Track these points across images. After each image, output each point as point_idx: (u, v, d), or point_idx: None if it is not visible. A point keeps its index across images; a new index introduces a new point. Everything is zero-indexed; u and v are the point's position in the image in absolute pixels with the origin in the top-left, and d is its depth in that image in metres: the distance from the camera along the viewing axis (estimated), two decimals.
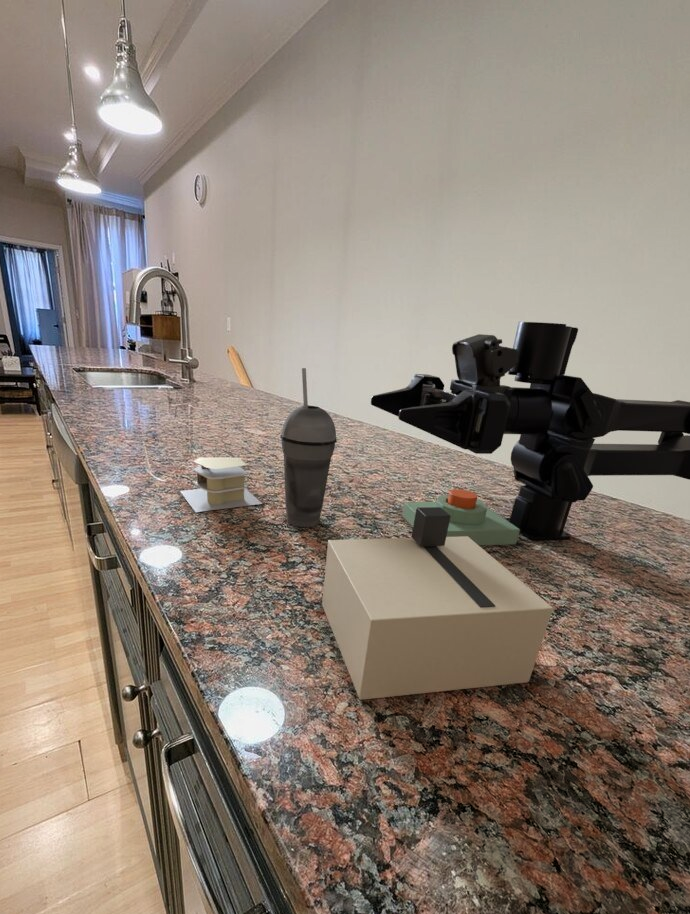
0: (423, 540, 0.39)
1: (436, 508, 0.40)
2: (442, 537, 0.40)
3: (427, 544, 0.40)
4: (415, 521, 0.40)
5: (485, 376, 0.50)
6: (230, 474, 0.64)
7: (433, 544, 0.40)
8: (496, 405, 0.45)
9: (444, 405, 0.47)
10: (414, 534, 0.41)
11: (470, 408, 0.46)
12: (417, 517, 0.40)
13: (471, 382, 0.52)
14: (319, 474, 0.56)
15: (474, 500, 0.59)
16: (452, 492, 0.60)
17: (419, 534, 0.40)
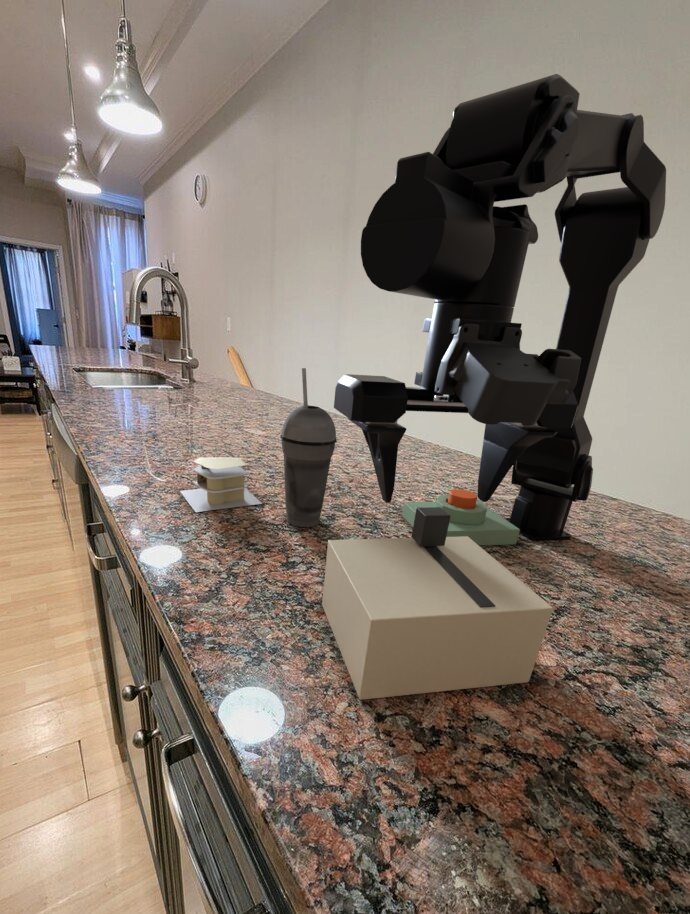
0: (423, 540, 0.39)
1: (436, 508, 0.40)
2: (442, 537, 0.40)
3: (427, 544, 0.40)
4: (415, 521, 0.40)
5: None
6: (230, 474, 0.64)
7: (433, 544, 0.40)
8: None
9: (515, 457, 0.38)
10: (414, 534, 0.41)
11: None
12: (417, 517, 0.40)
13: None
14: (319, 474, 0.56)
15: (474, 500, 0.59)
16: (452, 492, 0.60)
17: (419, 534, 0.40)
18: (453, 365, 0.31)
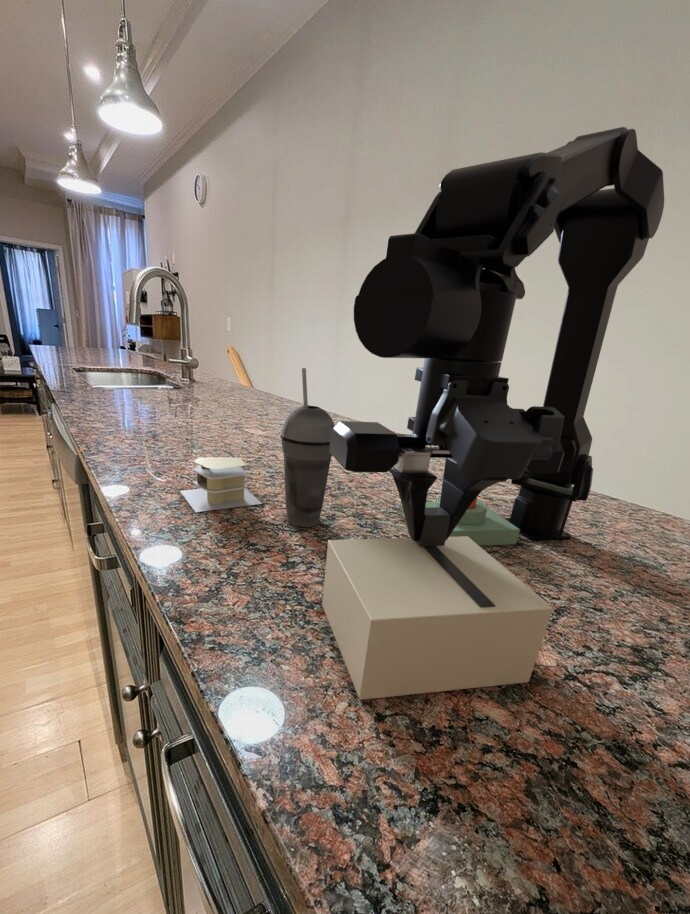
0: (423, 540, 0.39)
1: (436, 508, 0.40)
2: (442, 537, 0.40)
3: (427, 544, 0.40)
4: None
5: None
6: (230, 474, 0.64)
7: (433, 544, 0.40)
8: None
9: (471, 499, 0.38)
10: None
11: None
12: None
13: None
14: (319, 474, 0.56)
15: (474, 500, 0.59)
16: None
17: None
18: (443, 419, 0.33)
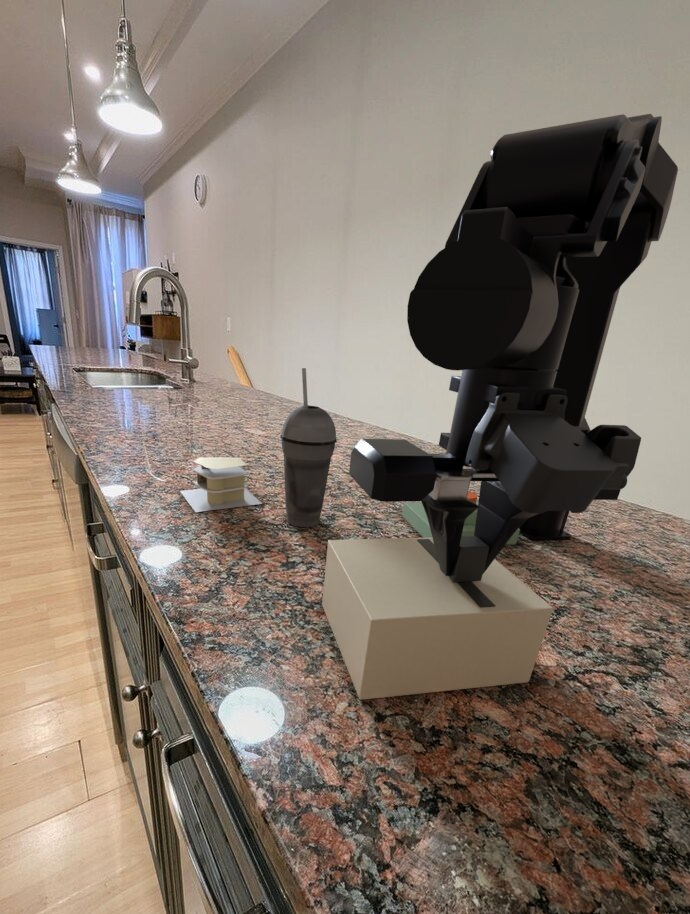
0: (457, 575, 0.34)
1: (471, 537, 0.35)
2: (479, 571, 0.34)
3: (461, 579, 0.34)
4: None
5: None
6: (230, 474, 0.64)
7: (468, 579, 0.34)
8: None
9: (514, 528, 0.33)
10: None
11: None
12: None
13: None
14: (319, 474, 0.56)
15: (474, 500, 0.59)
16: None
17: None
18: (489, 439, 0.27)
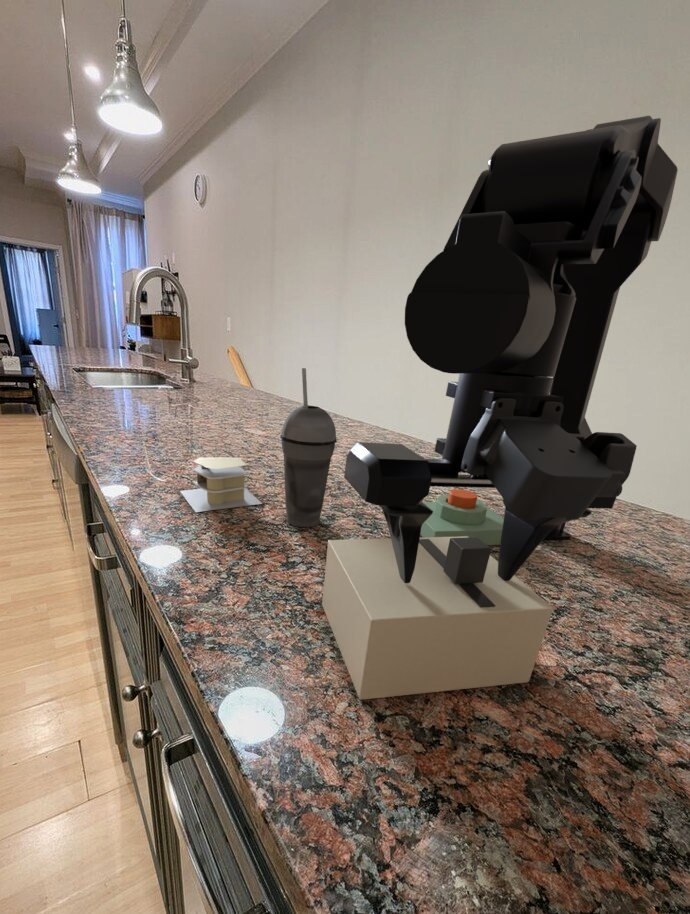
0: (459, 577, 0.34)
1: (473, 538, 0.35)
2: (480, 573, 0.34)
3: (463, 581, 0.34)
4: (448, 554, 0.35)
5: None
6: (230, 474, 0.64)
7: (470, 581, 0.34)
8: None
9: (542, 536, 0.33)
10: (446, 568, 0.35)
11: None
12: (451, 549, 0.34)
13: None
14: (319, 474, 0.56)
15: (474, 500, 0.59)
16: (452, 492, 0.60)
17: (453, 569, 0.34)
18: (485, 444, 0.27)
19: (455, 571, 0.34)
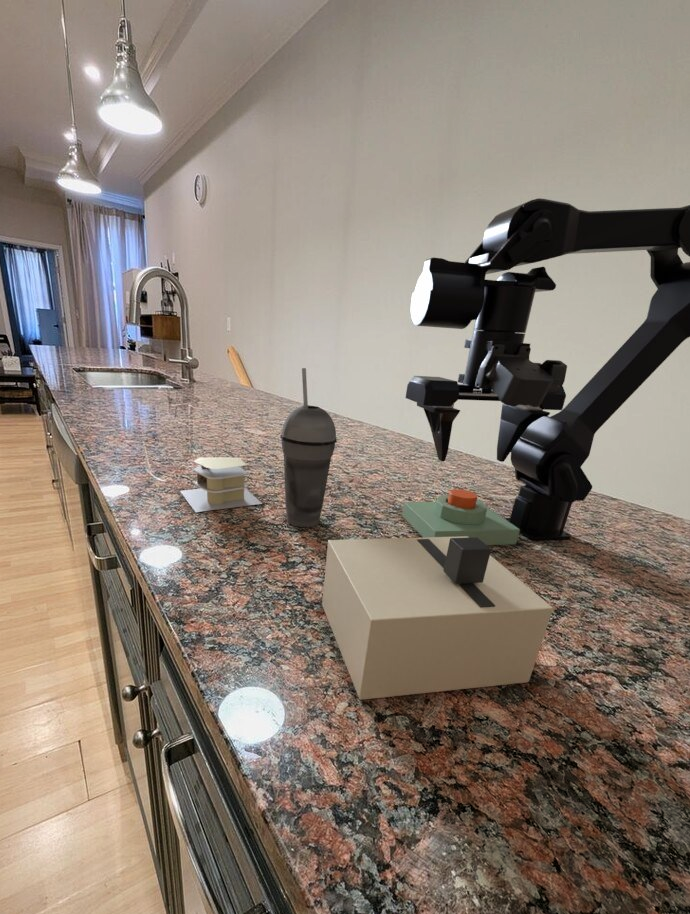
0: (459, 577, 0.34)
1: (473, 538, 0.35)
2: (480, 573, 0.34)
3: (463, 581, 0.34)
4: (448, 554, 0.35)
5: None
6: (230, 474, 0.64)
7: (470, 581, 0.34)
8: None
9: (522, 430, 0.56)
10: (446, 568, 0.35)
11: None
12: (451, 549, 0.34)
13: None
14: (319, 474, 0.56)
15: (474, 500, 0.59)
16: (452, 492, 0.60)
17: (453, 569, 0.34)
18: (488, 370, 0.50)
19: (455, 571, 0.34)
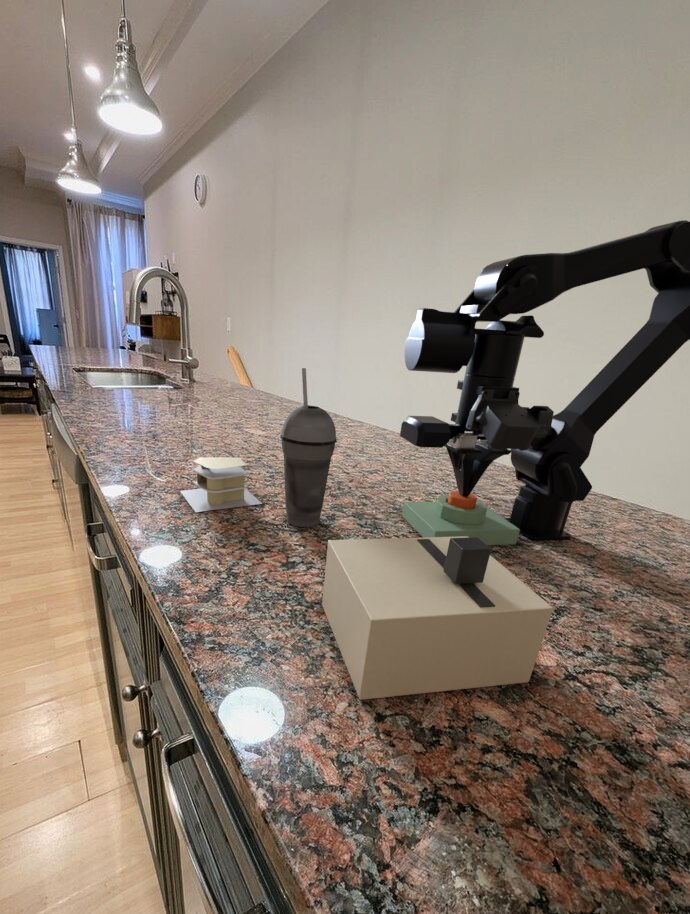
0: (459, 577, 0.34)
1: (473, 538, 0.35)
2: (480, 573, 0.34)
3: (463, 581, 0.34)
4: (448, 554, 0.35)
5: None
6: (230, 474, 0.64)
7: (470, 581, 0.34)
8: None
9: (485, 467, 0.58)
10: (446, 568, 0.35)
11: None
12: (451, 549, 0.34)
13: None
14: (319, 474, 0.56)
15: (474, 502, 0.59)
16: (452, 494, 0.60)
17: (453, 569, 0.34)
18: (478, 413, 0.52)
19: (455, 571, 0.34)
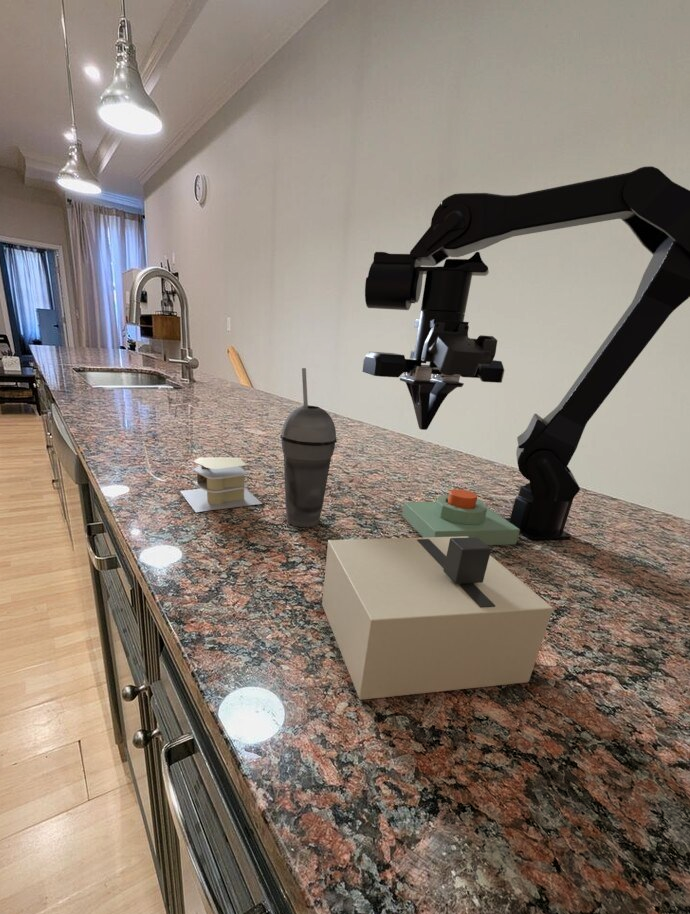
0: (459, 577, 0.34)
1: (473, 538, 0.35)
2: (480, 573, 0.34)
3: (463, 581, 0.34)
4: (448, 554, 0.35)
5: None
6: (230, 474, 0.64)
7: (470, 581, 0.34)
8: None
9: (441, 400, 0.62)
10: (446, 568, 0.35)
11: None
12: (451, 549, 0.34)
13: None
14: (319, 474, 0.56)
15: (474, 500, 0.59)
16: (452, 492, 0.60)
17: (453, 569, 0.34)
18: (430, 345, 0.57)
19: (455, 571, 0.34)
